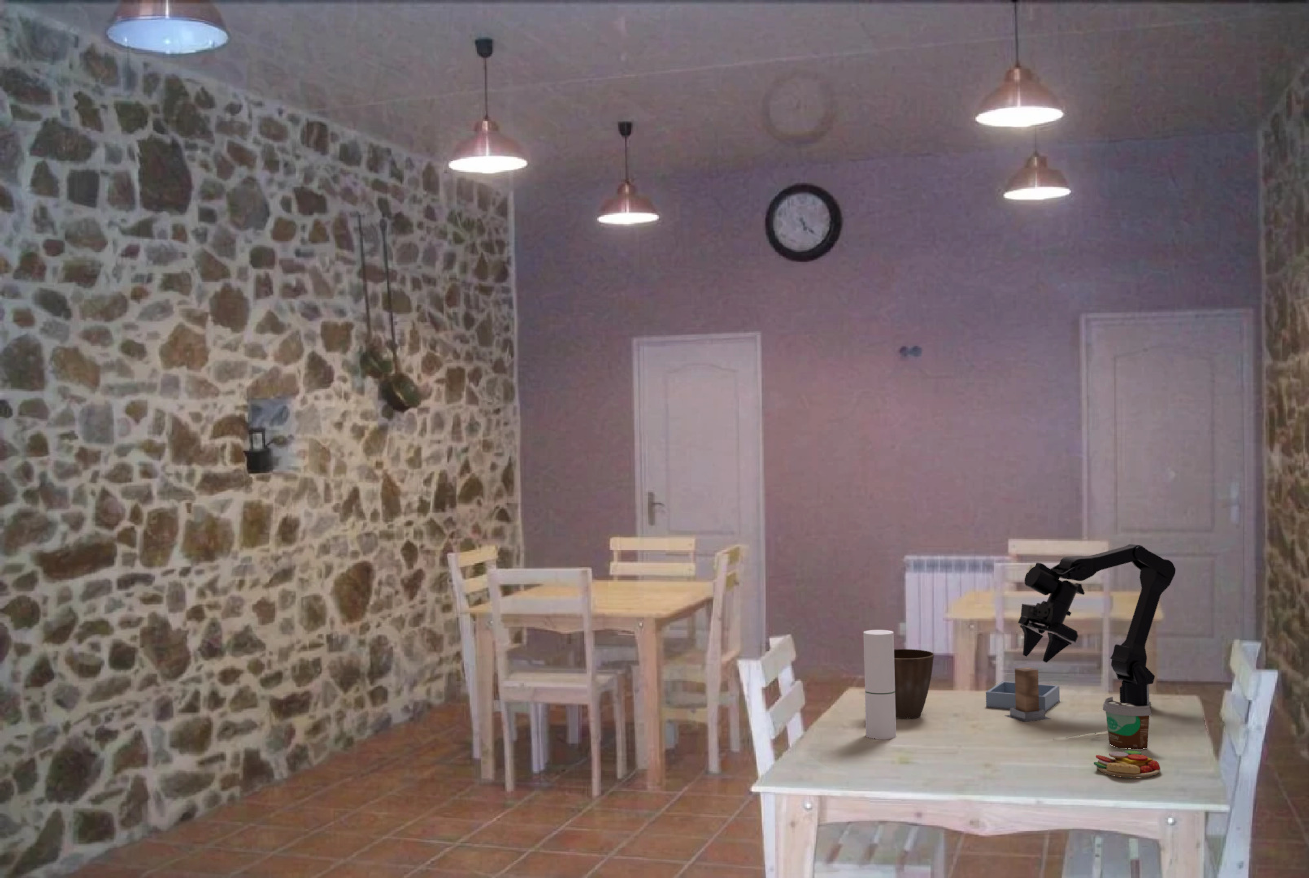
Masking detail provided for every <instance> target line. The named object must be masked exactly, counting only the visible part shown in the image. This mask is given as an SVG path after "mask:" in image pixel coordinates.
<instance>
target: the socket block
mask: <svg viewBox="0 0 1309 878" xmlns="http://www.w3.org/2000/svg"><path fill="white" fill-rule="evenodd" d="M1004 717H1007V718H1010V719H1013V720H1017V721H1019V722H1022V723H1029V722H1035V721H1036V722H1038V721H1045V720H1051V719H1052V718H1050V717H1047V716H1046V712H1045V710H1043V709H1039V710H1038V711H1030V712H1023V711H1020V710H1017V709H1016V707H1015V708H1010V709H1009V714H1008V715H1007V714H1005V715H1004Z"/></svg>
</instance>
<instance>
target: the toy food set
mask: <svg viewBox="0 0 1309 878" xmlns="http://www.w3.org/2000/svg"><path fill="white" fill-rule="evenodd" d="M1108 756H1109V757H1108ZM1108 756H1103V755H1100V754H1096V755H1095V758H1096V759H1098V760H1097V761H1094V762H1093V765H1094V766H1096V768H1097V769H1098V770H1099V771H1100V772H1101V773H1102V772H1103V773H1102V774H1104V773H1106V774H1105V775H1107V774H1109V775H1108V776H1110V775H1115V776H1121V777H1132V778H1131V779H1137V778H1136V777H1148V776H1152V775H1155V776H1157V774H1159V773H1160V772H1161V766H1160V763H1159V761H1157V760H1154V759H1153V758H1151V757H1148V756H1146V755H1143V754H1142V752H1141V751H1140V750H1128V749H1126V750H1124V751H1110V752H1108ZM1115 776H1114V777H1115ZM1121 777H1120V778H1121ZM1152 777H1153V776H1152ZM1148 778H1149V777H1148Z"/></svg>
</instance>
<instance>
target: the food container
mask: <svg viewBox="0 0 1309 878" xmlns="http://www.w3.org/2000/svg"><path fill="white" fill-rule="evenodd" d="M1102 710H1103V712H1105V715H1106V724H1107V734H1108V735H1107V736H1108V744H1109V745H1110V744H1111V745H1113V746H1115V747H1114V748H1116V747H1118V748H1117V749H1120V748H1127V749H1126V750H1128V748H1131V749H1143V748H1147V749H1148V745H1149V744H1148V743H1149V730H1150V729H1149V728H1150V727H1149V725H1150V716H1152V710H1151V708H1150V705H1149V706H1135V705H1133V704H1130V703H1120V701H1119V702H1118V701H1115V700H1114V697H1113V696H1109V697H1107V698H1105V699H1104V702H1103V705H1102ZM1111 745H1110V746H1111ZM1113 746H1112V747H1113ZM1143 750H1144V749H1143Z"/></svg>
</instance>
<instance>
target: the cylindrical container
mask: <svg viewBox="0 0 1309 878" xmlns="http://www.w3.org/2000/svg"><path fill="white" fill-rule="evenodd" d="M894 633H895V632H894V631H893V630H887V629H870V630H864V631H863V633H862V634H863V665H864V666H863V667H864V668H863V669H864V670H863V671H864V699H865V700H864V701H865V703H864V704H865V707H864V708H865V711H864V712H865V736H866V738H868V737H869V738H868V739H872V738H873V739H874V738H875V739H874V740H891V739H895V738H897V718H896V711H895V670H894V649H895V641H894V640H895V639H894V638H895V637H894Z"/></svg>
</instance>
